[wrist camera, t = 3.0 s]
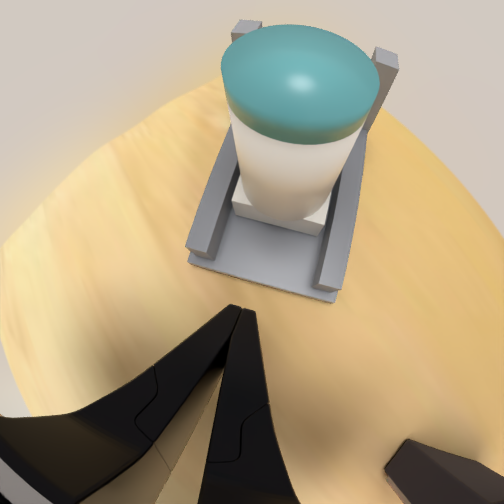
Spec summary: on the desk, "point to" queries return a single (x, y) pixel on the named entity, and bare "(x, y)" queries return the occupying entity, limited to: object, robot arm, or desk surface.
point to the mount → (275, 237)
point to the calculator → (441, 477)
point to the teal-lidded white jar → (294, 119)
